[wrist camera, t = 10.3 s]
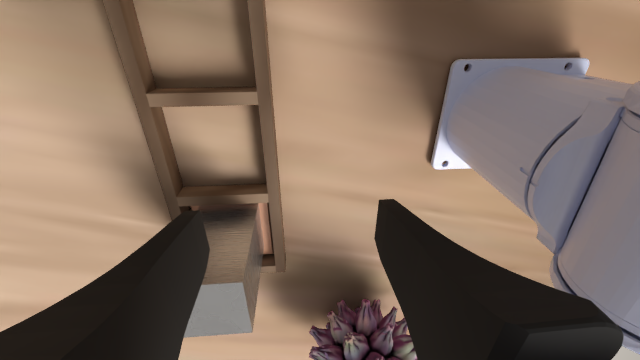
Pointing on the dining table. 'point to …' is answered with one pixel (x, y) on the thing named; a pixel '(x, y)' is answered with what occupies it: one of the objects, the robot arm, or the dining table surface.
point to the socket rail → (154, 99)
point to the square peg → (229, 271)
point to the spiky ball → (362, 335)
